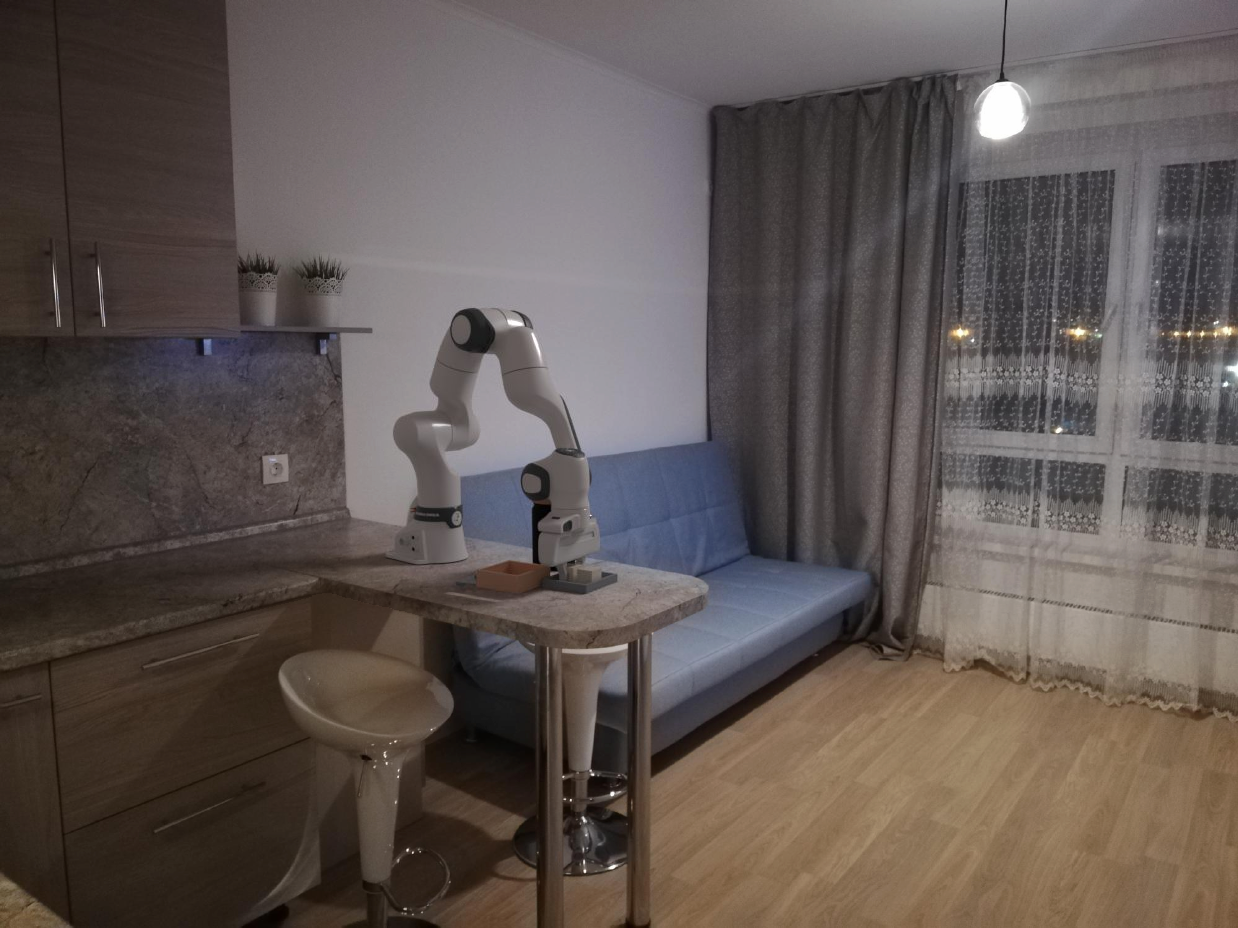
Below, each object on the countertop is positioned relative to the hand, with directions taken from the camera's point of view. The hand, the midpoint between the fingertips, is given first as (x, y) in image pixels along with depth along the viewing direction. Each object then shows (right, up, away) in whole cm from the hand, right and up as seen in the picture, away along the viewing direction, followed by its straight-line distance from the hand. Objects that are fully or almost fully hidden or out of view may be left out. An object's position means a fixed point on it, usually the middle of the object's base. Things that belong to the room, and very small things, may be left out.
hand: (571, 578), depth 212 cm
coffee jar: (-5, 0, +17) cm, 18 cm away
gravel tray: (+2, -2, -1) cm, 3 cm away
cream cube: (0, -1, 0) cm, 1 cm away
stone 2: (+4, -1, -3) cm, 5 cm away
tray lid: (-22, -1, +4) cm, 22 cm away
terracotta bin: (-13, -2, -1) cm, 13 cm away
